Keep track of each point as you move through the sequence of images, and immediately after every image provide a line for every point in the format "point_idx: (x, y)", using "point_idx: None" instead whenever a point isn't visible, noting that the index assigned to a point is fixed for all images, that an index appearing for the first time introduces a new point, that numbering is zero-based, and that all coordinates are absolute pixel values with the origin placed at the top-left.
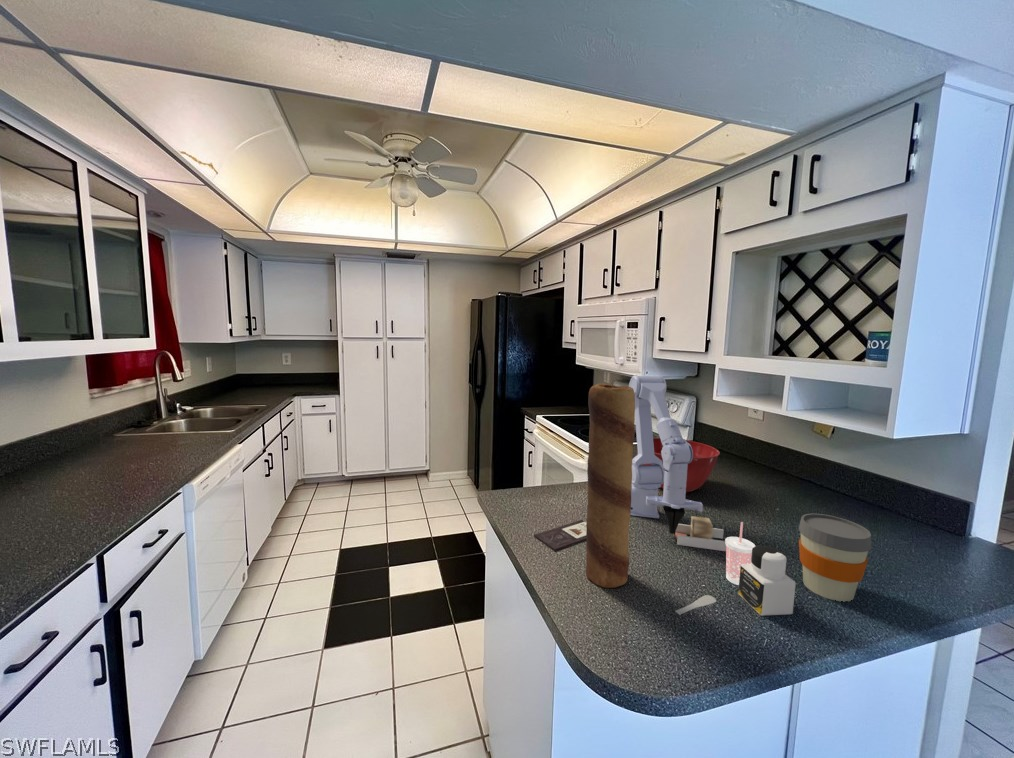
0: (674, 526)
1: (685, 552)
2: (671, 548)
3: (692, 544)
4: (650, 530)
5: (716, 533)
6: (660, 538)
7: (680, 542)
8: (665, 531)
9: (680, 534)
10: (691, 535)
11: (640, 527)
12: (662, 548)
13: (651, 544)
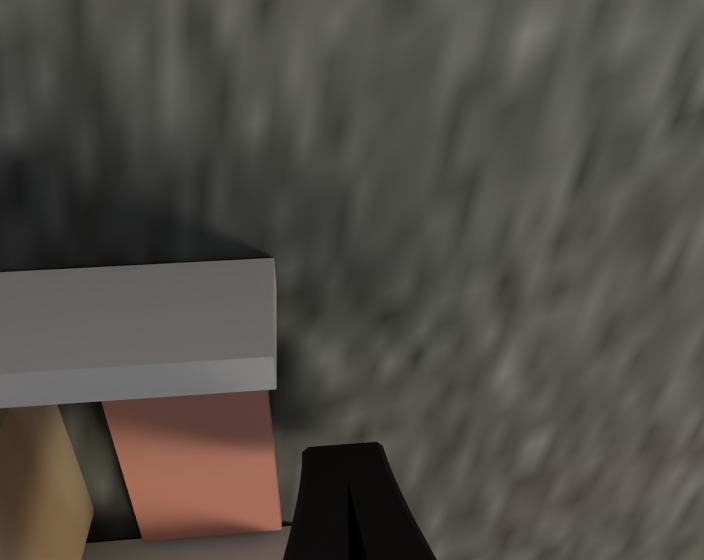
0: (333, 554)
1: (149, 34)
2: (389, 106)
3: (30, 292)
4: (570, 482)
5: None
6: (496, 350)
7: (228, 283)
8: None
9: (214, 501)
10: (60, 501)
11: (669, 503)
12: (551, 54)
13: (698, 136)
